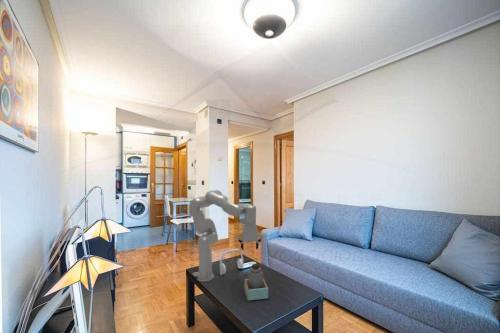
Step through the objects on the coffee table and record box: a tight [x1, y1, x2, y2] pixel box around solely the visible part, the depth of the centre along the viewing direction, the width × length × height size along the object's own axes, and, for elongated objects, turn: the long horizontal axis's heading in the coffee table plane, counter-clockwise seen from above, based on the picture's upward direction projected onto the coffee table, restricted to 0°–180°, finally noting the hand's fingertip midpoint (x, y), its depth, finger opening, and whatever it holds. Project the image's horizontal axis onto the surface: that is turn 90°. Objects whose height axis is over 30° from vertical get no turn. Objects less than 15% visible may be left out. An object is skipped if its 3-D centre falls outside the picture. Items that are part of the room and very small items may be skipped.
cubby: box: [243, 277, 269, 299], centre depth 140 cm, size 13×12×7 cm
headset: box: [219, 248, 244, 276], centre depth 169 cm, size 20×7×18 cm, turn 123°
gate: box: [246, 287, 269, 301], centre depth 133 cm, size 13×1×6 cm, turn 100°
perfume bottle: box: [247, 263, 264, 290], centre depth 139 cm, size 7×7×18 cm
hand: (249, 249), depth 145 cm, fingers open, 9 cm apart
